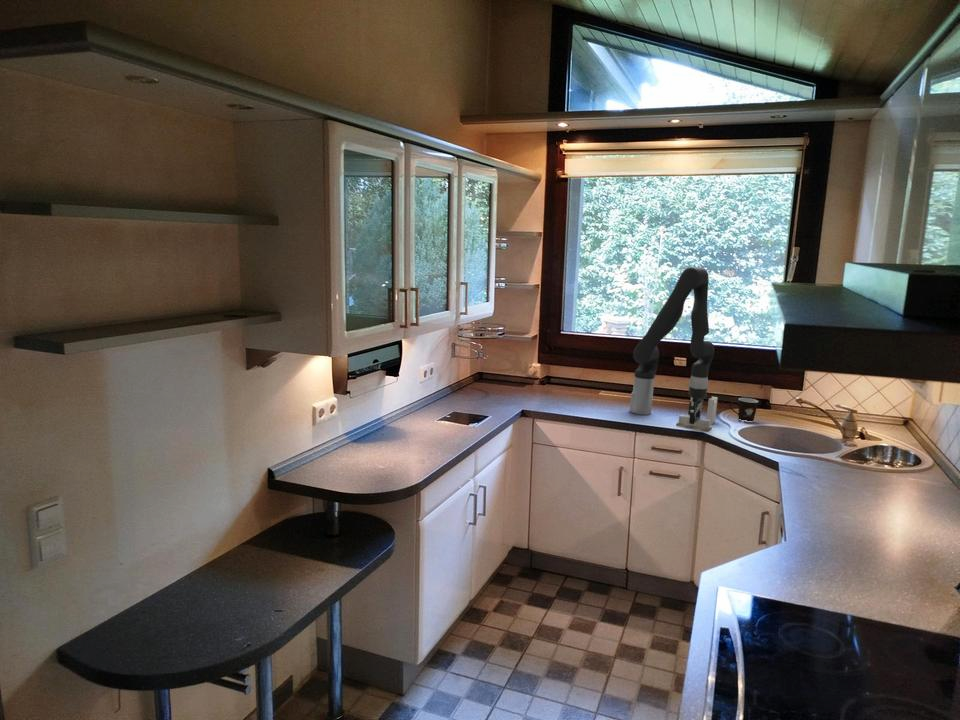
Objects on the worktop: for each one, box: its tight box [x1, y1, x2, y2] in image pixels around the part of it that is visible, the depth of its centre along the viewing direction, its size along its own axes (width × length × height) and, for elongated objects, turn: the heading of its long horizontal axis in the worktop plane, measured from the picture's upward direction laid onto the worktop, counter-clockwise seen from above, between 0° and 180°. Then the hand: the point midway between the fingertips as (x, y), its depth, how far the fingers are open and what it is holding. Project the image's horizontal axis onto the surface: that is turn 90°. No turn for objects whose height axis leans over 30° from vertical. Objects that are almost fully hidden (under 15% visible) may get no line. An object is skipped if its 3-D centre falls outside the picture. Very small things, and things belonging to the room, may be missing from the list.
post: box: [705, 396, 719, 425], centre depth 302 cm, size 2×6×12 cm, turn 147°
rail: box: [678, 413, 712, 429], centre depth 294 cm, size 13×4×4 cm, turn 57°
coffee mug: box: [729, 397, 759, 422], centre depth 308 cm, size 12×9×10 cm
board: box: [675, 421, 712, 433], centre depth 294 cm, size 14×6×1 cm, turn 57°
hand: (694, 421), depth 294 cm, fingers open, 8 cm apart
